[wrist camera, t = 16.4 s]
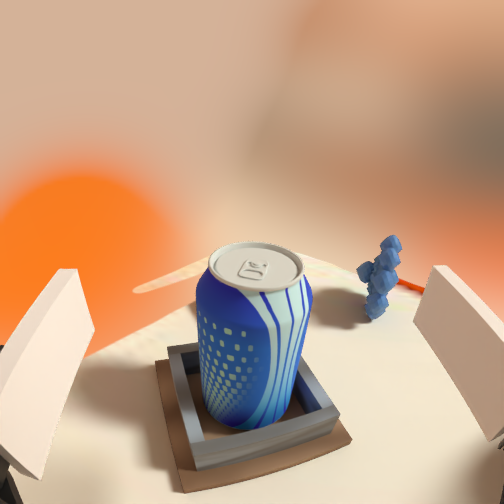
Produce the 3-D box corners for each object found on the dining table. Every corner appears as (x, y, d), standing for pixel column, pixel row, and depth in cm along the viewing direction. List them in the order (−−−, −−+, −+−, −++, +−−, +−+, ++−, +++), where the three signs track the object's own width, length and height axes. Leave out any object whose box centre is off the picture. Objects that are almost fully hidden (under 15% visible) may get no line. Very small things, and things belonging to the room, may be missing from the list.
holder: (349, 444, 25) (364, 420, 23) (184, 493, 20) (177, 476, 17) (284, 343, 38) (288, 316, 36) (156, 366, 33) (150, 338, 31)
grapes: (354, 284, 52) (368, 219, 46) (390, 294, 49) (409, 229, 44) (340, 322, 42) (359, 246, 37) (384, 335, 40) (410, 260, 34)
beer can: (188, 391, 29) (174, 250, 22) (254, 361, 34) (266, 229, 27) (234, 451, 23) (241, 314, 16) (304, 409, 28) (343, 271, 21)
